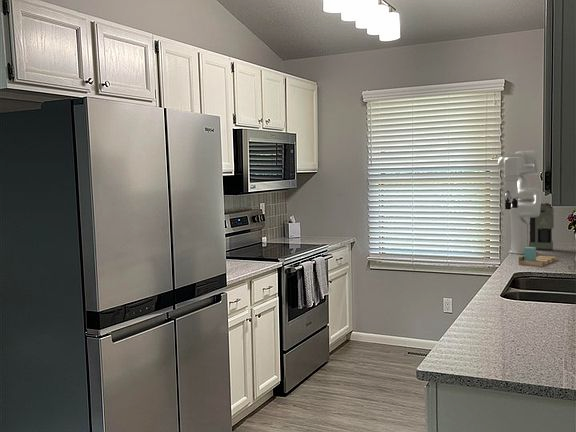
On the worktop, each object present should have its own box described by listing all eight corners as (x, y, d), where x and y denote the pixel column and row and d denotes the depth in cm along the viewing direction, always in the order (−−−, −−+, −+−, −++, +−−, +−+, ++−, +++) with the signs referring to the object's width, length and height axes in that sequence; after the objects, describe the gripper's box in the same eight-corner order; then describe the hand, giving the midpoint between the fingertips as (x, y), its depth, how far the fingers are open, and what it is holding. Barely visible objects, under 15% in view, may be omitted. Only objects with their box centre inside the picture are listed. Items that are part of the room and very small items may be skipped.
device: (553, 249, 358) (554, 202, 355) (552, 250, 351) (552, 203, 349) (530, 248, 365) (530, 202, 363) (528, 249, 359) (528, 203, 356)
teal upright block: (527, 259, 311) (527, 246, 310) (536, 259, 308) (536, 247, 307) (524, 260, 307) (524, 247, 307) (532, 261, 304) (532, 248, 303)
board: (534, 258, 324) (534, 251, 324) (556, 260, 316) (556, 253, 315) (518, 264, 307) (518, 256, 307) (541, 266, 299) (541, 258, 298)
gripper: (510, 178, 328) (510, 207, 330) (498, 179, 316) (499, 209, 317) (523, 178, 323) (523, 207, 325) (512, 179, 311) (512, 210, 312)
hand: (511, 208), depth 321 cm, fingers open, 9 cm apart
